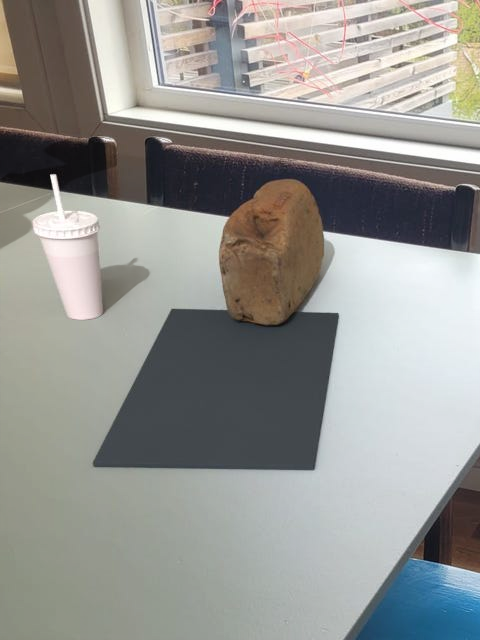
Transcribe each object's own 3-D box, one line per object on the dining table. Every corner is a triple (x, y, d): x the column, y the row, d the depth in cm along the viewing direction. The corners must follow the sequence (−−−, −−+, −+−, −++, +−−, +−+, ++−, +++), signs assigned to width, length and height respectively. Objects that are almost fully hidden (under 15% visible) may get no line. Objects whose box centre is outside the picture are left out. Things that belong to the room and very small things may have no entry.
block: (328, 272, 120) (290, 334, 104) (266, 268, 120) (219, 329, 104) (322, 175, 113) (280, 226, 97) (257, 172, 113) (205, 221, 98)
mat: (93, 466, 82) (92, 462, 81) (172, 312, 108) (171, 308, 108) (314, 470, 83) (313, 465, 83) (338, 316, 109) (338, 312, 109)
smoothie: (42, 321, 104) (8, 179, 96) (70, 299, 109) (40, 162, 101) (100, 327, 104) (72, 184, 95) (126, 305, 109) (101, 168, 100)
